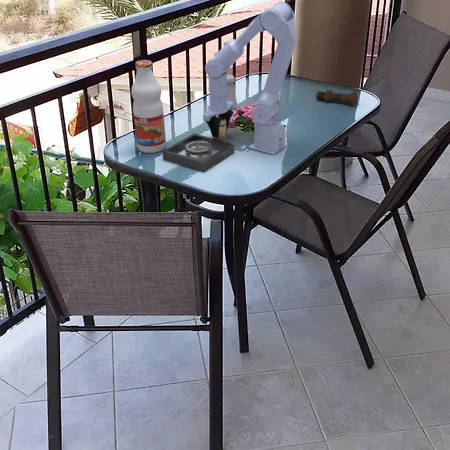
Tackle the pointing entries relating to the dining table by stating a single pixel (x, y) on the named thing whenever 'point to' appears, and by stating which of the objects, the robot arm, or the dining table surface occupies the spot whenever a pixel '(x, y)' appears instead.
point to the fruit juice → (148, 110)
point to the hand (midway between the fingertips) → (219, 134)
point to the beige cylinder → (222, 129)
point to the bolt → (337, 97)
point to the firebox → (198, 152)
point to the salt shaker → (231, 90)
